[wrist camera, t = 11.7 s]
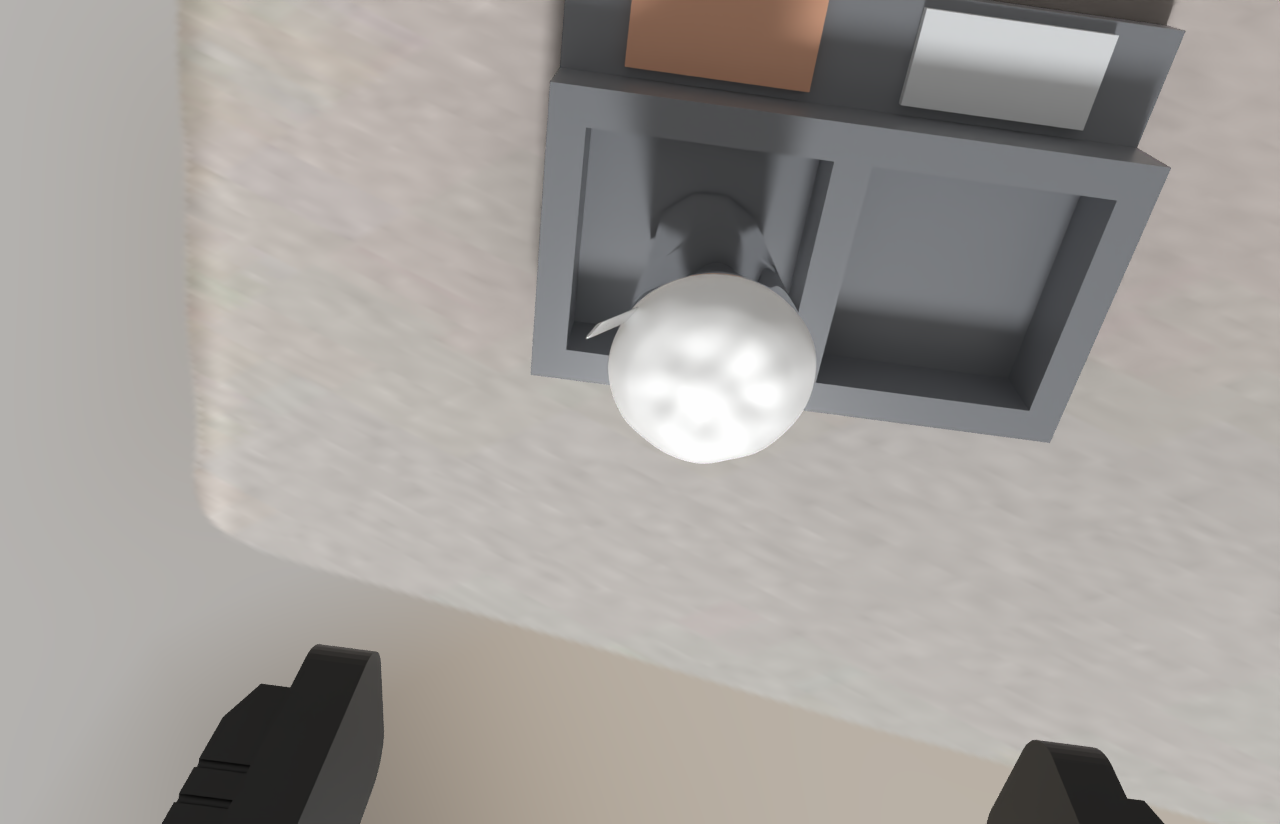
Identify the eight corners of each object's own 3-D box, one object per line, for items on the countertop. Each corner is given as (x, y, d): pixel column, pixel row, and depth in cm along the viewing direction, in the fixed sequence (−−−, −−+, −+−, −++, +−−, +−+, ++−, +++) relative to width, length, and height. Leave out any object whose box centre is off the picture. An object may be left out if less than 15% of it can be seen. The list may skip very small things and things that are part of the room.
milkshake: (676, 116, 24) (669, 243, 16) (814, 235, 26) (876, 410, 17) (577, 236, 26) (523, 407, 18) (711, 340, 28) (721, 544, 19)
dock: (1167, 25, 23) (1226, 42, 21) (1018, 394, 29) (1049, 442, 27) (573, -60, 23) (558, -52, 20) (544, 331, 29) (530, 374, 26)
